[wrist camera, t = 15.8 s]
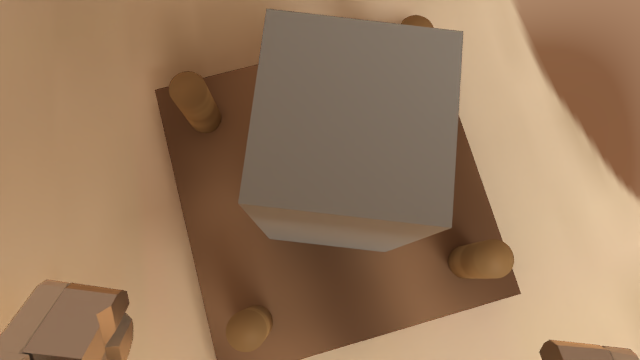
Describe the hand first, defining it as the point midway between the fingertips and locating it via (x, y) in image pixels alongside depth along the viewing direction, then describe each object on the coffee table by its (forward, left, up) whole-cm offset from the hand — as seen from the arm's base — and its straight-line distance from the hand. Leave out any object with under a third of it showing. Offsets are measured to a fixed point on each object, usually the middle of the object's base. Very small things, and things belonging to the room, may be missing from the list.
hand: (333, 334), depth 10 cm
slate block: (-2, -5, -11) cm, 12 cm away
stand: (-2, -5, -12) cm, 13 cm away
